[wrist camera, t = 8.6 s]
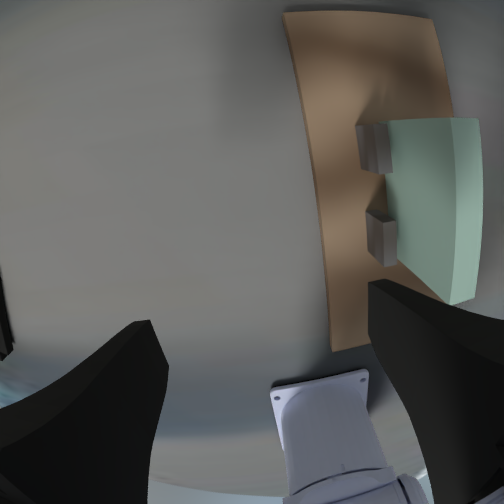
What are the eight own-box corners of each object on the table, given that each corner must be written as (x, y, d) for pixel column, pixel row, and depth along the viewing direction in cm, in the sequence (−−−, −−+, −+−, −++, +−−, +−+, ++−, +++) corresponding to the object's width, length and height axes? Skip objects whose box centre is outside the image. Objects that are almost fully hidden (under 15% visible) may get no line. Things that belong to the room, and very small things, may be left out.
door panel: (410, 247, 18) (474, 297, 12) (389, 252, 18) (449, 306, 12) (401, 120, 15) (478, 118, 9) (378, 121, 15) (450, 117, 9)
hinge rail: (444, 314, 21) (466, 337, 18) (330, 345, 21) (341, 376, 18) (426, 22, 13) (453, 8, 10) (281, 17, 14) (289, -7, 11)
